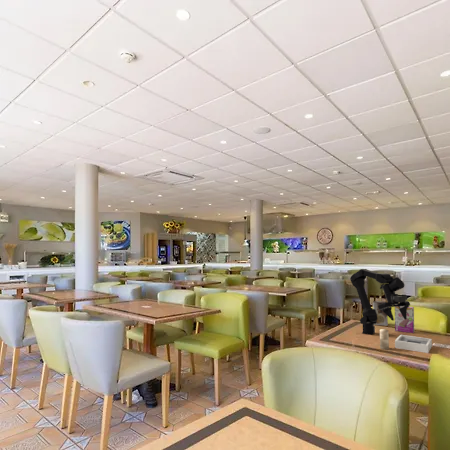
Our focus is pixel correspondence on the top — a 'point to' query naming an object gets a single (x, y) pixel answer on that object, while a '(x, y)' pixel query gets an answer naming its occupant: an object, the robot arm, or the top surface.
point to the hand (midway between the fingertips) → (399, 319)
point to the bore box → (413, 343)
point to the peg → (384, 339)
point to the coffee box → (380, 314)
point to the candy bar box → (404, 320)
